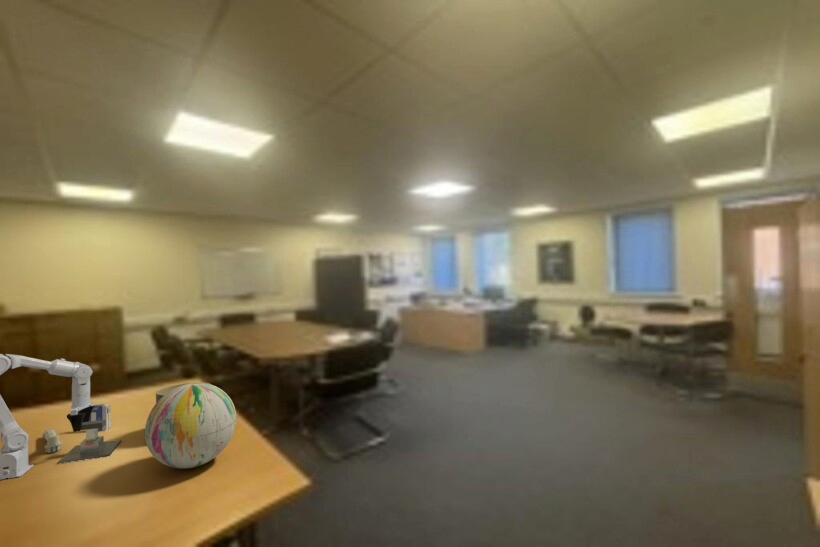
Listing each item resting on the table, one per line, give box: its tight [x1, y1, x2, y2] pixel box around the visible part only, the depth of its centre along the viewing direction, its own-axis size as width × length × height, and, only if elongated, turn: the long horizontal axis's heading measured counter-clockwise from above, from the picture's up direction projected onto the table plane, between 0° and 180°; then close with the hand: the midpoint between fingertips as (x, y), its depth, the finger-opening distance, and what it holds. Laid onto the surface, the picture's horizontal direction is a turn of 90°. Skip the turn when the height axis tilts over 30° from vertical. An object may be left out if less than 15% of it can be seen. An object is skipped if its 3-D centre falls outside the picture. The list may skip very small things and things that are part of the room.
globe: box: [144, 382, 237, 469], centre depth 148 cm, size 30×30×30 cm
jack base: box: [58, 435, 123, 465], centre depth 161 cm, size 16×16×5 cm
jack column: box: [80, 420, 106, 442], centre depth 161 cm, size 4×8×8 cm, turn 112°
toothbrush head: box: [42, 428, 63, 454], centre depth 170 cm, size 5×7×25 cm
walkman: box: [89, 403, 111, 432], centre depth 186 cm, size 8×3×12 cm, turn 98°
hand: (81, 427), depth 160 cm, fingers open, 7 cm apart
